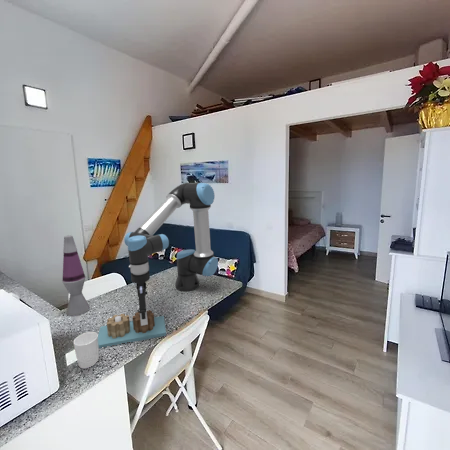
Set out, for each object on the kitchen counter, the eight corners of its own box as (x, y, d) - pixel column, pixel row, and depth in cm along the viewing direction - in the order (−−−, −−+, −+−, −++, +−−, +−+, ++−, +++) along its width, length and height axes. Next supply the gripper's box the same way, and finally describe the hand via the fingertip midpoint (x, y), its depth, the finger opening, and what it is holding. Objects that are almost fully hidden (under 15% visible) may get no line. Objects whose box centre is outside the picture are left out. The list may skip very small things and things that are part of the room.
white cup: (83, 355, 97) (79, 332, 95) (103, 354, 98) (101, 331, 96) (72, 370, 89) (69, 346, 87) (95, 369, 90) (92, 344, 88)
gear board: (163, 318, 122) (162, 302, 120) (166, 335, 109) (165, 317, 107) (100, 329, 114) (98, 312, 112) (95, 349, 100) (93, 330, 99)
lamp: (61, 313, 127) (49, 237, 119) (79, 303, 137) (70, 232, 129) (76, 317, 123) (66, 239, 115) (94, 307, 133) (85, 234, 125)
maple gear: (126, 323, 115) (125, 311, 114) (133, 332, 109) (132, 319, 108) (105, 331, 110) (104, 318, 109) (111, 341, 103) (110, 328, 102)
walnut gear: (134, 323, 115) (133, 311, 114) (154, 320, 118) (153, 308, 117) (133, 335, 107) (132, 322, 106) (155, 331, 109) (154, 318, 108)
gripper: (132, 263, 118) (136, 303, 122) (129, 285, 94) (134, 334, 99) (148, 261, 120) (152, 301, 124) (149, 282, 97) (154, 330, 101)
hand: (144, 316), depth 112 cm, fingers open, 13 cm apart
